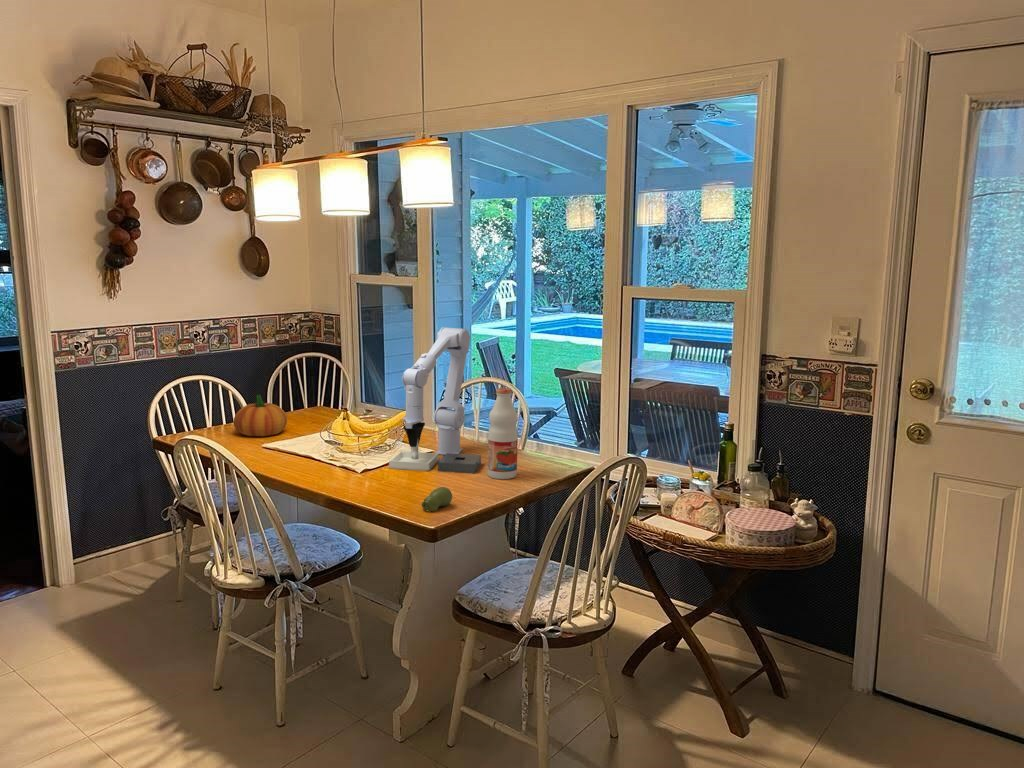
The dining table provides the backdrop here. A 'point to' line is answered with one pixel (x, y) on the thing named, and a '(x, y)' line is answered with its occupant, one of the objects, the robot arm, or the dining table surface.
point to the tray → (413, 461)
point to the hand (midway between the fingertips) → (414, 445)
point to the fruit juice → (502, 437)
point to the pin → (414, 452)
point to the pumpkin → (260, 419)
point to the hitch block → (459, 463)
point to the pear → (437, 499)
